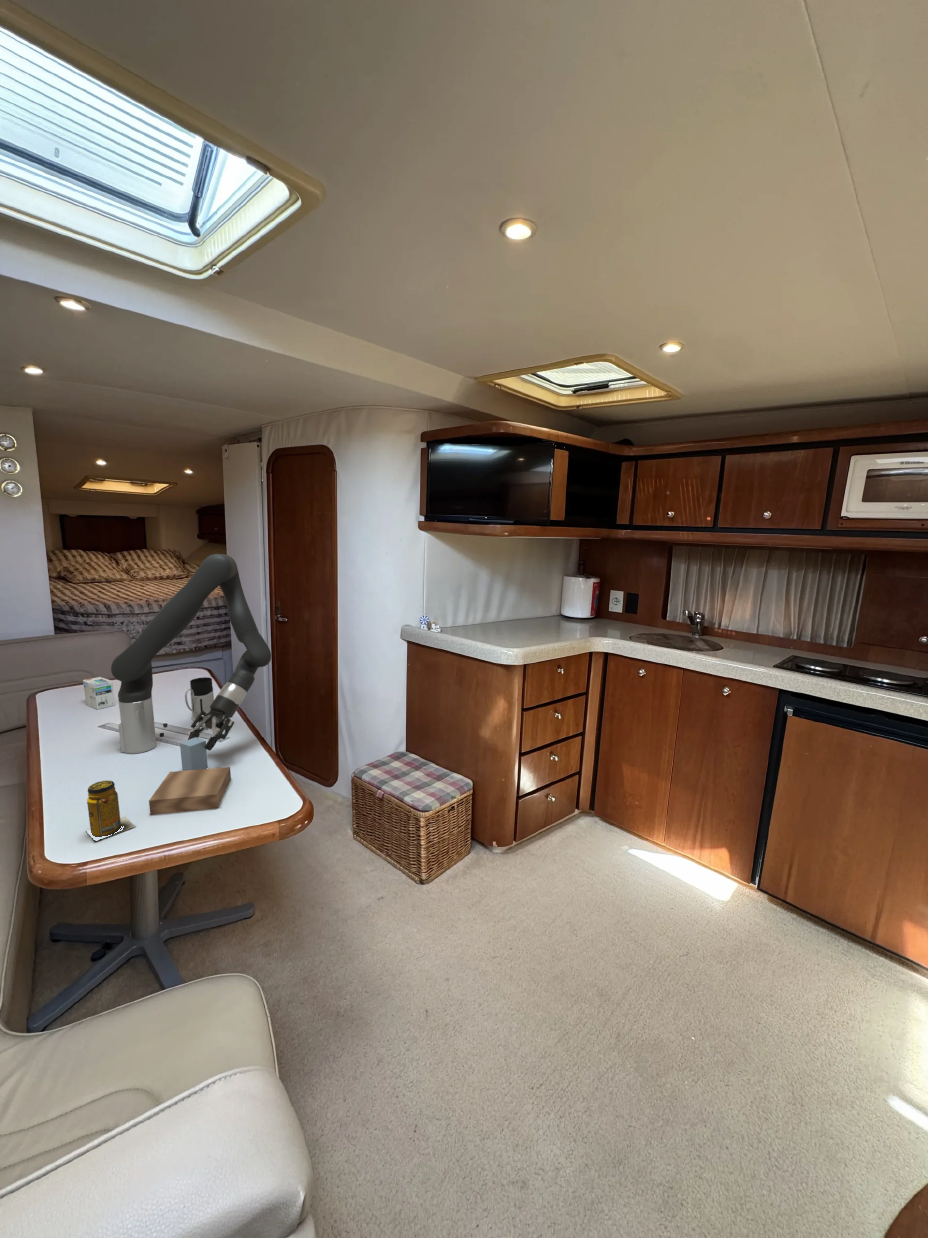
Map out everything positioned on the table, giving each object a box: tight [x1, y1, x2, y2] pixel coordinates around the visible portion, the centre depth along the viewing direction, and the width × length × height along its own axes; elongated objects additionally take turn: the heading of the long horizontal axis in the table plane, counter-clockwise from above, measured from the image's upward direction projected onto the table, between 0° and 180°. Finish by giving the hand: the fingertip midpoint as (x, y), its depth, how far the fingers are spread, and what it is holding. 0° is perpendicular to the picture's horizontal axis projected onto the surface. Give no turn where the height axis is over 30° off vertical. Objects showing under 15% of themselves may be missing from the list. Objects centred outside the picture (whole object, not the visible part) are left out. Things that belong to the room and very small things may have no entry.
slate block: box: [179, 737, 209, 771], centre depth 155 cm, size 5×5×9 cm
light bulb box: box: [82, 676, 116, 710], centre depth 209 cm, size 11×7×11 cm, turn 58°
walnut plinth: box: [148, 766, 232, 816], centre depth 140 cm, size 16×16×4 cm
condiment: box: [86, 780, 136, 837], centre depth 124 cm, size 7×8×12 cm
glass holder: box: [184, 676, 215, 722], centre depth 195 cm, size 9×14×15 cm, turn 174°
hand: (198, 746), depth 156 cm, fingers open, 8 cm apart
